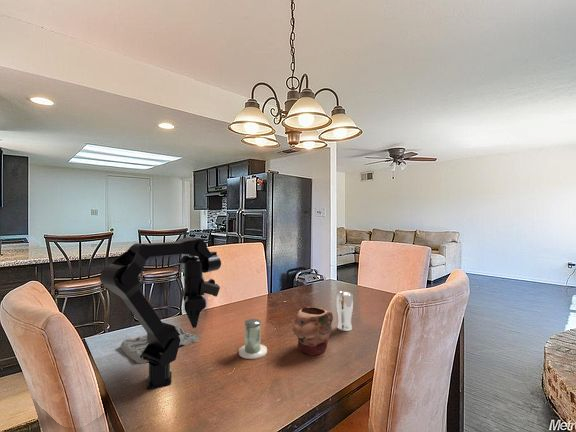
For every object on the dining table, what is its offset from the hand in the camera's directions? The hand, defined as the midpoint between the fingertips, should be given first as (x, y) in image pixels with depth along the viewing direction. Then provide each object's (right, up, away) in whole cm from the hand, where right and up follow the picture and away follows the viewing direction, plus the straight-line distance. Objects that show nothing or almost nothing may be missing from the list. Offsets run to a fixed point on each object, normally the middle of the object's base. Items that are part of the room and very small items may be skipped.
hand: (193, 322), depth 95 cm
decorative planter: (+41, -13, +10) cm, 44 cm away
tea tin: (+19, -12, +7) cm, 23 cm away
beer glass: (+56, -13, +28) cm, 64 cm away
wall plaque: (-16, -14, +13) cm, 24 cm away
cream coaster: (+19, -13, +7) cm, 24 cm away
